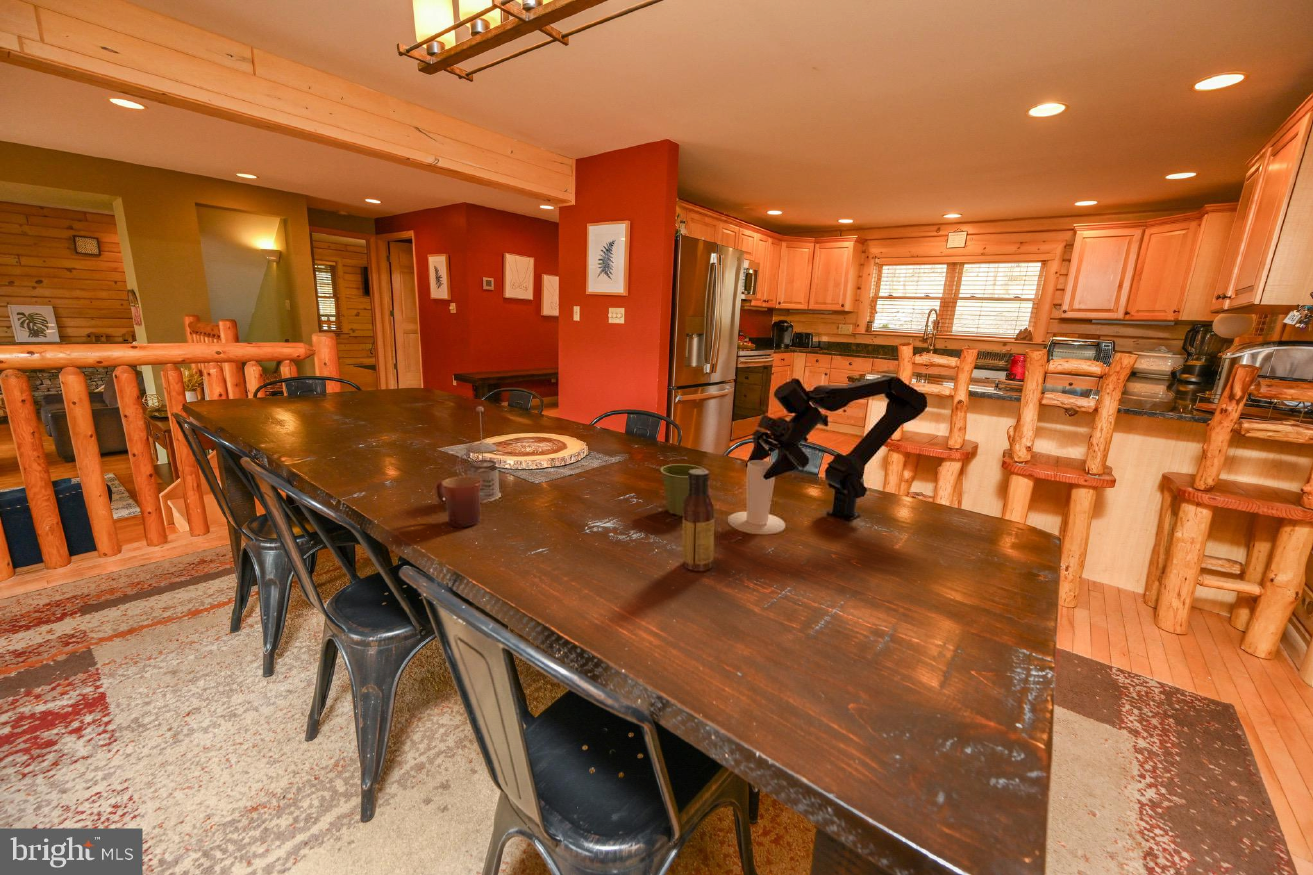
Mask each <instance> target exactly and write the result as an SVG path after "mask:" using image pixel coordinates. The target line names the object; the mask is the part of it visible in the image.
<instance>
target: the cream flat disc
mask: <svg viewBox="0 0 1313 875" xmlns="http://www.w3.org/2000/svg"><path fill="white" fill-rule="evenodd" d="M746 514H747V510H746V511H739V512H734V513H732V514H730V515H729V516H728V517H727V523H728V525H729V526H730V527H732V528H733V529H736V530H737V531H740V532H743V533H747V534H752V535H761V536H765V535H773V534H774V535H775V534H778V533H781V532H783V531H784V530H785V529H786V522H784V520H783V519H781V518H780V517H779V516H775V515H773V514H770V513H769V517H768V522H767V523H766V524H764V525H754V524H751V523H749V522H748V521H747V520H746Z"/></svg>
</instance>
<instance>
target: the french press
mask: <svg viewBox="0 0 1313 875" xmlns="http://www.w3.org/2000/svg"><path fill="white" fill-rule="evenodd" d="M475 411H476V412H479V421H480V422H479V423H480V424H479V425H480V426H479V427H480V428H482V415H481V414H482V413H481V412H484V407H483V406H477V407H476V409H475ZM482 430H483V429H480V442H475V443H473V444H471V445H468V446H467V447H466V448H465V451H466V452H465V453H463V454H462V455H460V456H459V457H458V459H457V461H456V463H455V464H456V471H457V474H458V475H459V477H461V476H466V475H465V474H464V473H463V471H462V469H461V460H462V458H463V457H464V456H466V459H467V460H468V459H470V456H471V455H470V454H478V455H479V454H481V459H476V460H473V461H469V462H468V466H469V468H468V470H467V476H473V477H478V478H480V479H482V484H481V487H480V493H479V497H480V502H487V501H493V500H495V499H498V498H499V497H501V494H502V493H501V491H500V487H499V486H500V485H499V484H500V482H499V468H498V466H497V461H495V460H493V459H484V454H491V453H495V452H497V450H498V449H499V448H498V446H497V445H495V444H493V443H490V442H484V441H483V434H482V432H483V431H482ZM458 466H459V468H458ZM482 469H485V470H482ZM489 470H490V471H489ZM459 471H460V472H459ZM478 471H479V472H478ZM460 473H461V474H462V475H461V474H460Z"/></svg>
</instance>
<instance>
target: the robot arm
mask: <svg viewBox="0 0 1313 875" xmlns="http://www.w3.org/2000/svg"><path fill="white" fill-rule="evenodd" d="M881 395H883V396H884V398H885V399H887V403H886V405H885V406H886V407H885V412H884V414H883V415H882V416H881V418H880V419H878V421H876V423H875V424H874V425H873V427H871V428H870V429H869V430H868V432H867V433H866V434H865V435H864V437H862V438H861V439H860V441H858V443H856V445H855V446H854V447H853V449H851V450H850V451H849V453H846V454H842V453H836V455H834V456H833V458H832V460H830V461H829V462H827V467H826V468H825V470H824V478H825V480H826V482H827V486H828V488H829V489H832V490H834V492H833V501H832V508H831V509H829V510H826V514H827V515H829V516H830V515H831V516H834V517H837V518H840V519H843V520H847V521H851V520H853V519H856V518H858V517H860V516H861V512H858V511H856V510H857V502H858V499H861V498H864V497H865V496H866V495H867V494H866V493H867V491H868V488H867V487H866V486H865V485H864V483H863V482H862V479H863V477H864V474H865V469H866V465H867V464H868V463H869V462H870V461H871V459H872V458H873V457H874V456H875V455H876V454H877V453H878V452H879V450H881V448H882V447H883V446H884V445H885V444H886V443H887V442H888V441H889V440H890V438H891V437H892V436H893V435H894V434H895V433H896V432H897V431H898V430H899V428H901V426H902V425H904V424H906V423H909V422H911V421H914V420H915V419H917V418H918V417H919V416H921V415H922V414H923V413H924V412H925V411H926V409H927V408H928V399H927V396H926V394H925V393H924V392H921V391H918V389H916V388H914V387H912V386H911V385H910V384H907V383H906V382H905V381H904V380H902V379H901V378H900V376H895V375H889V374H883V375H880V376H877V377H873V378H869V379H865V380H861V381H857V382H852V383H847V384H844V385H843V384H841V385H840V384H839V385H838V384H819V385H815V386H814V387H813V389H810V390H807V389H806V388H805V387H804V386H803V384H802V381H801V380H800V379H799V378H796V377H793V378H792V379H791V380H788V381H786V382H785V383H781V385H778V387H777V388H776V389H775V391H774V393H773V397H774V398H775V400H776V401H777V402H778V403H779V404H780V405H781V406H782V408H783V409H784V410H785V412H786V413H788V414H789V415H792V416H791V417H790V419H789V420H787V419H785V418H784V417H780V416H779V417H778V418H773V417H770V416H768V415H765V414H762V416H761V418H760V420H759V422H758V424H757V427H758V428H759V429H756V430H755V431H754V432H752V434H751V436H752V441H753V448H752V450H751V453H750V455H749V457H748V458H747V461H746V463H745V465H744V466H745V468H746V469H747V465H748V462H749V461H752V460H765V459H767V458H768V457H770V456H772V454H771V453H774V452H775V451H777V457H776V459H775V460H774V461H773V464H772V465H771V466H770V468H769V469H768V470H767V471H766V473H765V474H764V476H763V478H764V479H765V480H767V479H770V478H772V477H775V478H776V477H777V476H780V475H783V474H786V473H788V472H792V471H795V470H797V471H798V470H799V469H802V470H804V469H805V468H806V467H807V466H808V465H809V464H810V463H809V462H810V457H809V456H808V455H807V454H806V452H805V451H804V450H803V449H802V448H801V446H800V444H801V443H802V442H803V443H807V442H808V441H809V438H808V436H809V435H810V434H811V433H812V431H813V430H815V428H816V427H817V426H818V425H821V426H823V427H826V428H827V427H829V420H828V418H829V415H828V414H825V413H822V412H821V411H820V410H823V411H827V412H832V413H833V412H837V411H839V410H842V409H844V408H846V407H847V406H849V404H850V403H853V402H855V401H859V400H864V399H868V398H872V397H877V396H881ZM761 428H762V429H761ZM765 430H766V431H765Z"/></svg>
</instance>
